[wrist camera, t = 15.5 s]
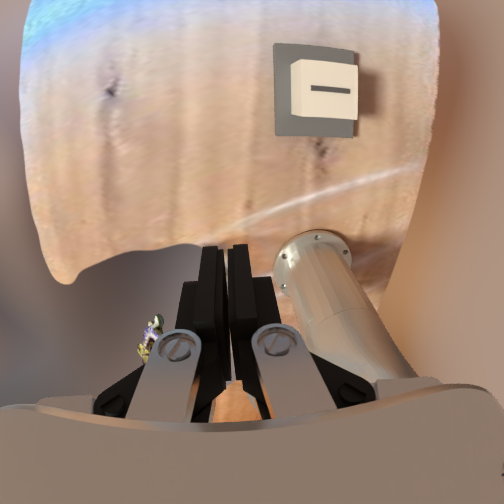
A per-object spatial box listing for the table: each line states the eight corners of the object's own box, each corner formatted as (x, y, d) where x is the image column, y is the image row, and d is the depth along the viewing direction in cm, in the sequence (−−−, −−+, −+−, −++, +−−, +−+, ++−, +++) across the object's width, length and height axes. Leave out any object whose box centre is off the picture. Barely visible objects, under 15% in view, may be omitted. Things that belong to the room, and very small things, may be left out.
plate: (348, 136, 34) (352, 138, 33) (275, 134, 34) (276, 136, 32) (348, 52, 28) (353, 51, 27) (272, 45, 27) (274, 43, 26)
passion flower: (158, 304, 53) (138, 309, 41) (212, 320, 53) (205, 331, 41) (146, 356, 51) (125, 373, 39) (198, 373, 52) (188, 396, 40)
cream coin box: (341, 69, 28) (358, 65, 24) (340, 116, 31) (357, 120, 27) (290, 64, 28) (301, 58, 23) (291, 114, 31) (301, 116, 26)
